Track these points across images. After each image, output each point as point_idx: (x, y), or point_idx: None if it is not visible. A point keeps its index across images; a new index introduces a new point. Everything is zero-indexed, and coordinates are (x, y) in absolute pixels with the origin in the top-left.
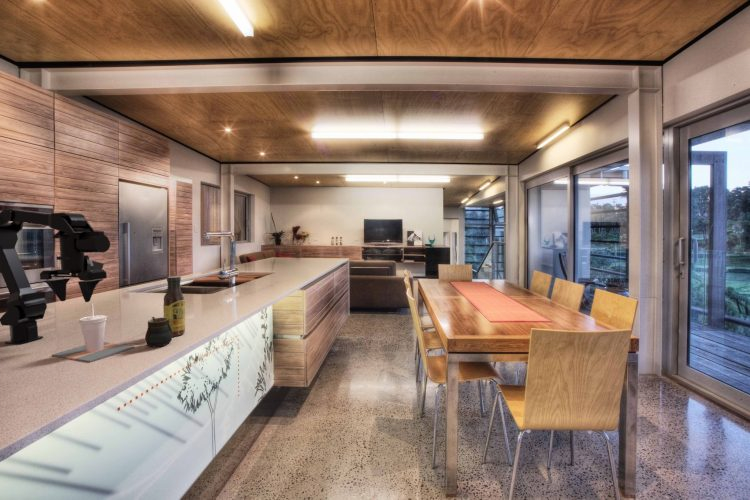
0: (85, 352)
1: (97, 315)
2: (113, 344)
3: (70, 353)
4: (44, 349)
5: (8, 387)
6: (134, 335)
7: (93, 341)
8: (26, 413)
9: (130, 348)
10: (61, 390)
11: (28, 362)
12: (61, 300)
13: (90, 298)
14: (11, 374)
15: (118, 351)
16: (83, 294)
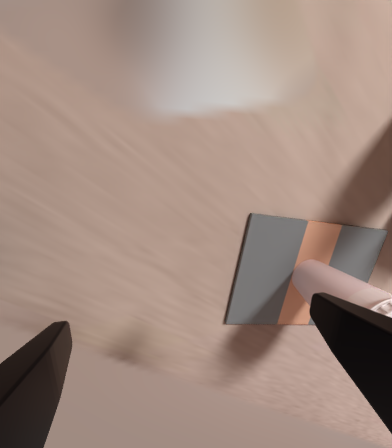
0: (298, 293)
1: (389, 316)
2: (323, 230)
3: (267, 307)
4: (144, 295)
5: (298, 416)
6: (313, 121)
7: None
8: (386, 432)
9: (382, 241)
10: None
11: (213, 358)
12: (67, 354)
13: (346, 303)
14: (248, 396)
15: (371, 268)
16: (376, 392)
